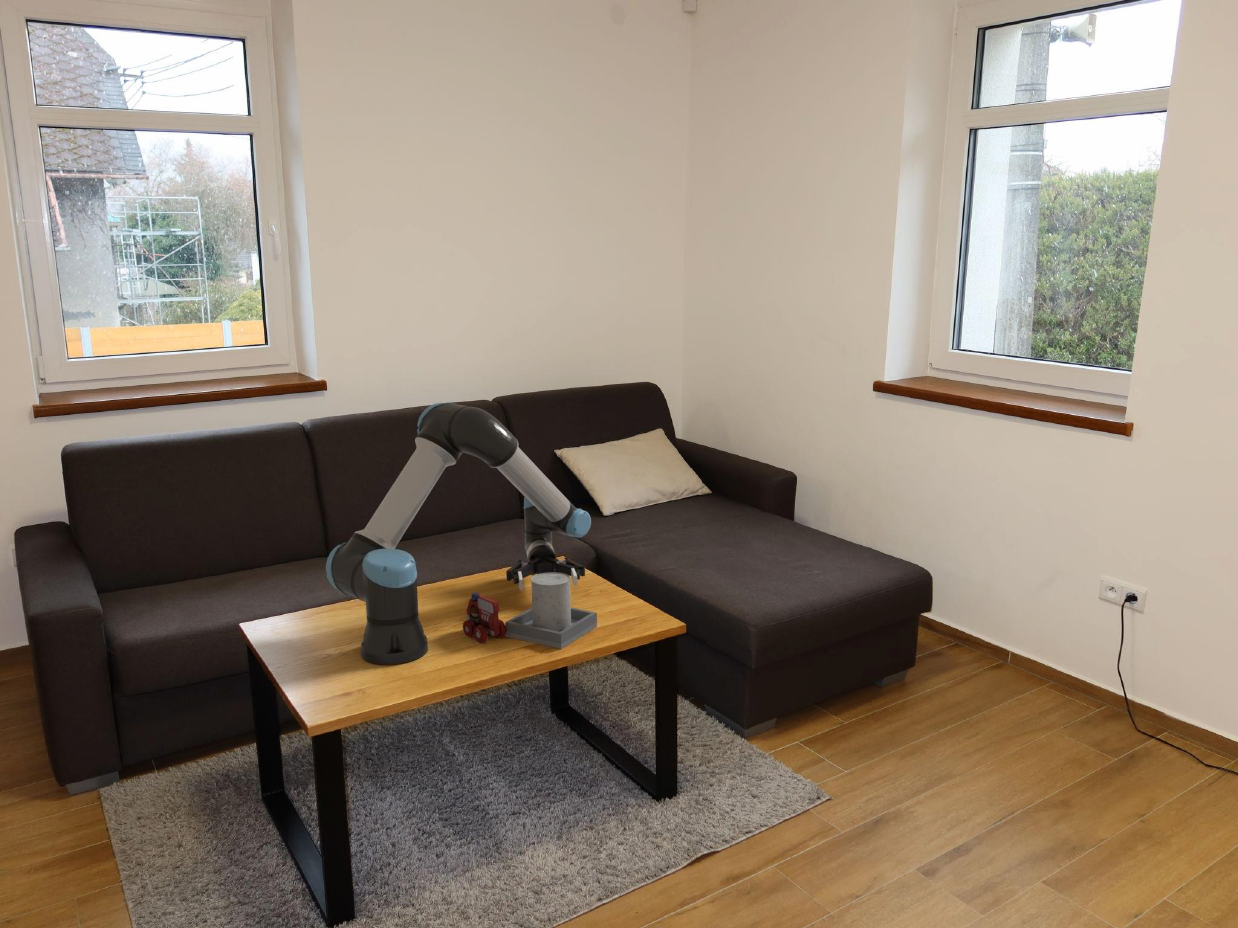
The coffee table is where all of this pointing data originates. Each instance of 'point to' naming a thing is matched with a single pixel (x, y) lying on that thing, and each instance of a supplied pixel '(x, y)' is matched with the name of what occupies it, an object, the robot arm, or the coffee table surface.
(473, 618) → the toy fire truck
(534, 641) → the tray
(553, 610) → the grey speckled cylinder
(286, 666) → the coffee table surface
